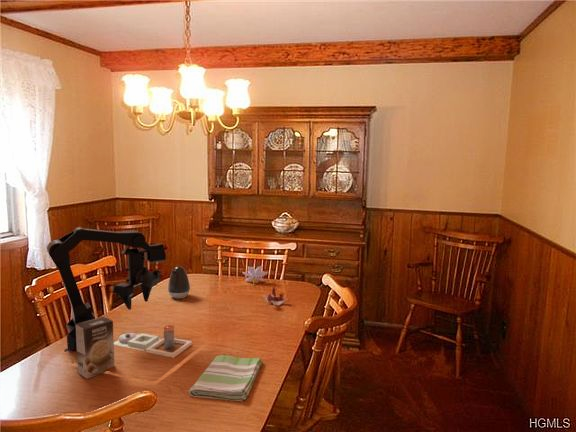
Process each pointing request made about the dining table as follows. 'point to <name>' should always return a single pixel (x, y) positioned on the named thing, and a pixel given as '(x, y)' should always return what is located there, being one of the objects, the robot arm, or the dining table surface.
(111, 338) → the coffee box
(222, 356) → the dish towel
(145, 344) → the block
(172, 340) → the pin
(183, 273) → the dark grey egg shape
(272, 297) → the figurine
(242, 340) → the dining table surface
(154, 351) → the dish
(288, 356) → the dining table surface
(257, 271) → the water lily
